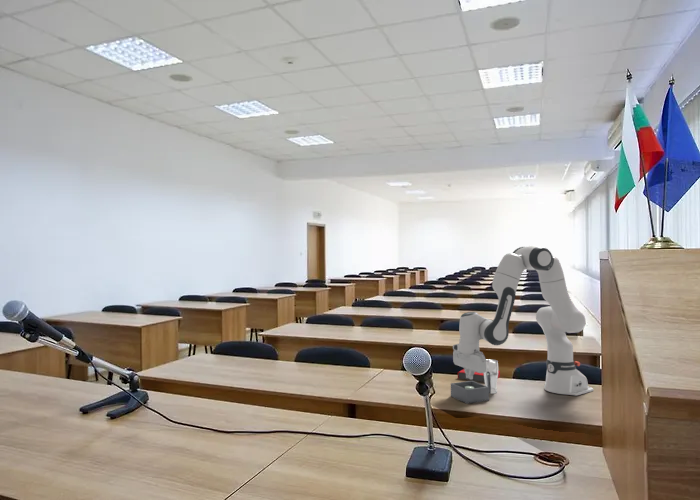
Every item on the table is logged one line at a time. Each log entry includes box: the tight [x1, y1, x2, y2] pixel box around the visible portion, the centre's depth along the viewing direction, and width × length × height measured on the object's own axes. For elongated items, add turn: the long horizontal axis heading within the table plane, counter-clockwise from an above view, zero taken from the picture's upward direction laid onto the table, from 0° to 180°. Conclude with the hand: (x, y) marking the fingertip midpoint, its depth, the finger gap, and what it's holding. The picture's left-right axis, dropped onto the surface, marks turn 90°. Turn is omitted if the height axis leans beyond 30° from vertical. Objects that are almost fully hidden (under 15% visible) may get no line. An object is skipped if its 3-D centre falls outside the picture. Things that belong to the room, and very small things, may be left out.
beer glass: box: [483, 358, 499, 394], centre depth 225 cm, size 7×7×15 cm
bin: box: [450, 380, 490, 405], centre depth 216 cm, size 12×12×6 cm
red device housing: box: [457, 368, 501, 383], centre depth 249 cm, size 18×14×5 cm
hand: (469, 378), depth 216 cm, fingers closed
